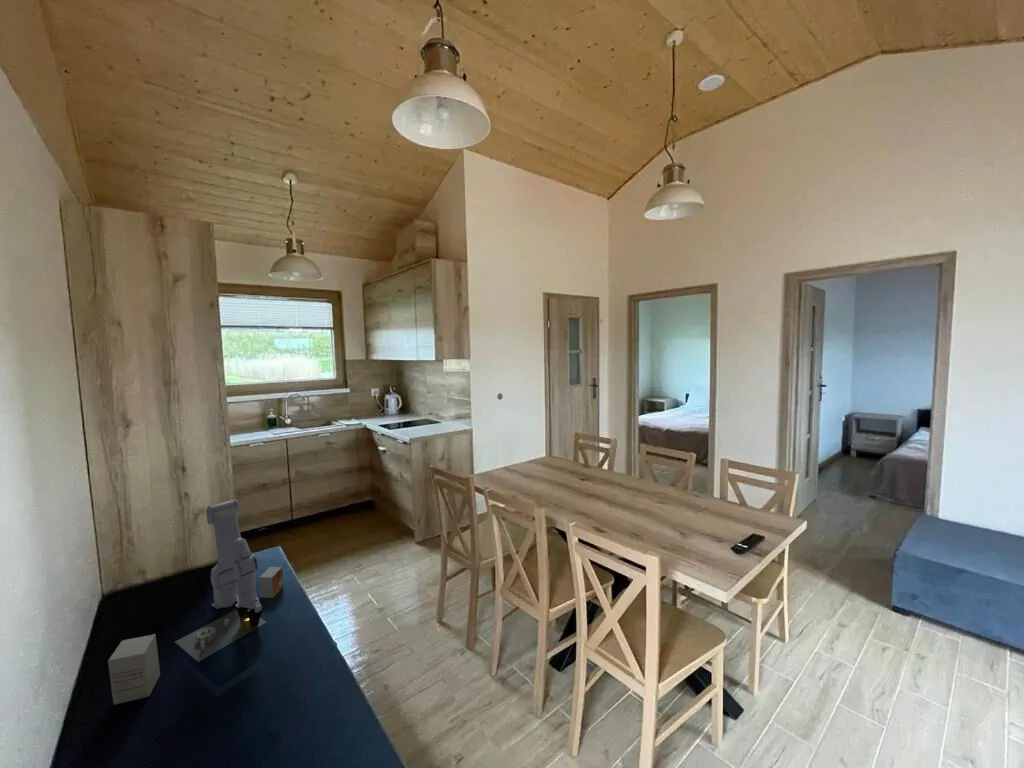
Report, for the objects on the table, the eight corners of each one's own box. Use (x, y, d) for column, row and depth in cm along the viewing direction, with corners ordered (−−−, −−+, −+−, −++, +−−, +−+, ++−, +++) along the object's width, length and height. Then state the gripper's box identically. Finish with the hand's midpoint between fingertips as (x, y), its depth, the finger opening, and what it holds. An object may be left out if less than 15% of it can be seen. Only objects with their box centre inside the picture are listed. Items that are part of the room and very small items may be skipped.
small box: (273, 601, 177) (271, 577, 176) (259, 600, 177) (258, 577, 176) (283, 589, 185) (282, 566, 184) (271, 589, 185) (269, 566, 184)
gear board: (174, 645, 152) (173, 634, 151) (242, 609, 172) (242, 599, 171) (198, 666, 144) (197, 653, 143) (267, 625, 163) (266, 614, 162)
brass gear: (237, 627, 160) (236, 617, 159) (253, 618, 165) (252, 608, 164) (245, 632, 157) (245, 622, 156) (261, 623, 162) (260, 614, 161)
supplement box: (126, 682, 137) (121, 639, 134) (161, 674, 140) (156, 632, 138) (111, 705, 128) (106, 660, 126) (149, 697, 131) (144, 653, 129)
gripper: (225, 587, 159) (227, 621, 161) (246, 601, 152) (248, 636, 153) (245, 578, 165) (247, 611, 167) (266, 591, 158) (268, 624, 160)
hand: (249, 622), depth 161 cm, fingers open, 7 cm apart
